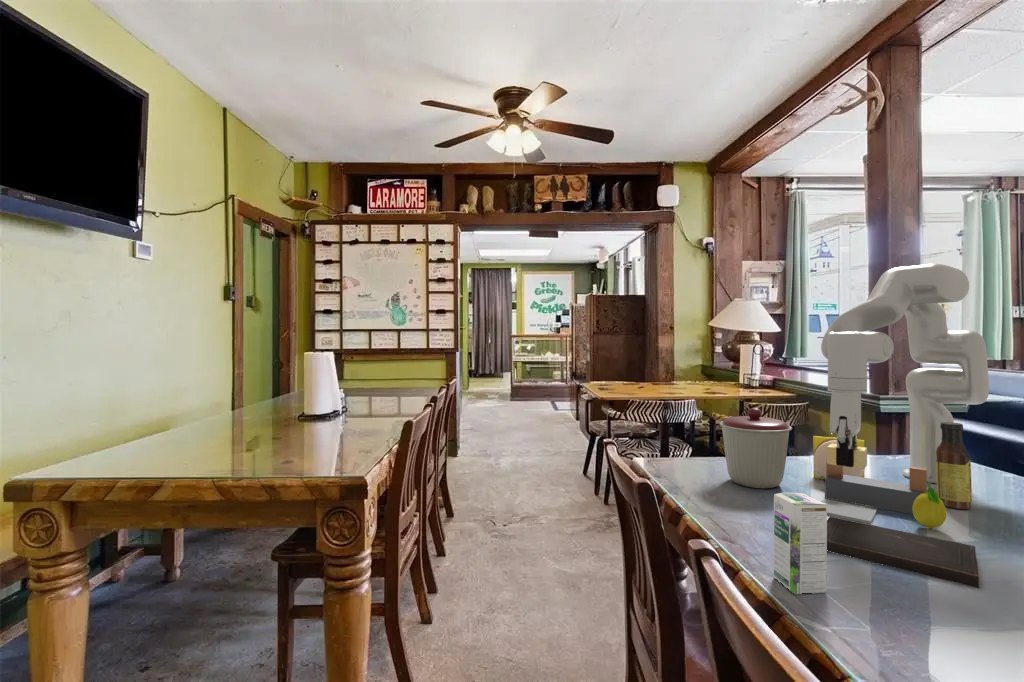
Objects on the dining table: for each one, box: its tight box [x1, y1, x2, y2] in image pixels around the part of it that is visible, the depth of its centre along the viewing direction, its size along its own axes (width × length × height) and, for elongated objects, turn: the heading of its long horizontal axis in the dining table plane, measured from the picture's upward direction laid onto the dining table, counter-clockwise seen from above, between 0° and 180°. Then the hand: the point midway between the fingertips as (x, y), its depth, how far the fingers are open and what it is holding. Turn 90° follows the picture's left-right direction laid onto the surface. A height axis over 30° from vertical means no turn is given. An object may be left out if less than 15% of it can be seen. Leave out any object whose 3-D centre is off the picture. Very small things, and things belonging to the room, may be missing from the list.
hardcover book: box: [827, 516, 980, 589], centre depth 92 cm, size 16×23×2 cm
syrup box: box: [772, 492, 828, 595], centre depth 80 cm, size 6×6×14 cm
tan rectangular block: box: [827, 443, 868, 469], centre depth 113 cm, size 5×7×4 cm
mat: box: [823, 499, 878, 525], centre depth 113 cm, size 10×10×1 cm
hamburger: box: [812, 435, 866, 480], centre depth 137 cm, size 12×8×12 cm
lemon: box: [912, 482, 948, 530], centre depth 103 cm, size 7×6×10 cm
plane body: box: [824, 460, 928, 515], centre depth 119 cm, size 7×20×10 cm, turn 47°
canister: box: [719, 407, 793, 489], centre depth 136 cm, size 18×18×21 cm
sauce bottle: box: [936, 422, 973, 510], centre depth 117 cm, size 7×6×20 cm
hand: (846, 462), depth 113 cm, fingers closed on tan rectangular block, 5 cm apart
